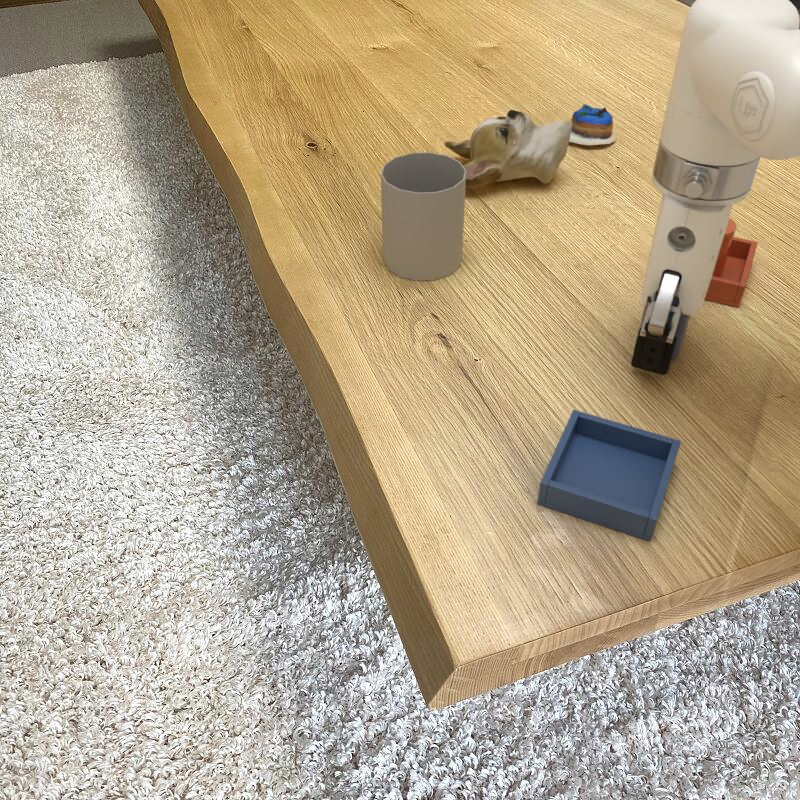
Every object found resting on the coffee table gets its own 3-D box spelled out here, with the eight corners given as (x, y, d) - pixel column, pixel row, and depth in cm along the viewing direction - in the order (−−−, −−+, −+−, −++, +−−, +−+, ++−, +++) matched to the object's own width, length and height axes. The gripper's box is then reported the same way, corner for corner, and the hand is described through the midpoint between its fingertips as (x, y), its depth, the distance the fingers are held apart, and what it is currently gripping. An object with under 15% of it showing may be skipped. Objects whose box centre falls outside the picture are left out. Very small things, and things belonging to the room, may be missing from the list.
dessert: (632, 135, 108) (615, 103, 104) (596, 173, 109) (577, 143, 104) (594, 116, 114) (576, 85, 109) (559, 152, 114) (540, 123, 110)
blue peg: (683, 342, 78) (697, 294, 75) (674, 368, 76) (688, 319, 72) (640, 331, 80) (652, 283, 76) (630, 356, 77) (641, 308, 73)
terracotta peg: (725, 264, 87) (739, 218, 83) (718, 285, 84) (733, 237, 80) (686, 255, 88) (698, 209, 84) (678, 275, 85) (690, 228, 82)
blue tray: (674, 462, 67) (681, 440, 66) (650, 541, 61) (656, 520, 60) (569, 430, 70) (573, 409, 68) (536, 504, 64) (540, 482, 62)
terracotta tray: (751, 262, 88) (758, 241, 86) (738, 307, 82) (745, 286, 80) (667, 243, 91) (672, 223, 89) (649, 286, 85) (654, 266, 83)
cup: (370, 270, 87) (367, 183, 81) (400, 231, 93) (399, 146, 86) (446, 287, 85) (449, 199, 78) (472, 246, 91) (477, 160, 84)
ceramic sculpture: (578, 128, 91) (441, 134, 93) (573, 199, 97) (444, 204, 98) (569, 89, 99) (442, 95, 100) (564, 157, 105) (445, 162, 106)
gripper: (737, 231, 58) (681, 414, 70) (769, 129, 70) (716, 301, 82) (629, 208, 60) (593, 389, 72) (678, 113, 72) (640, 283, 84)
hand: (659, 341), depth 77 cm, fingers open, 7 cm apart
